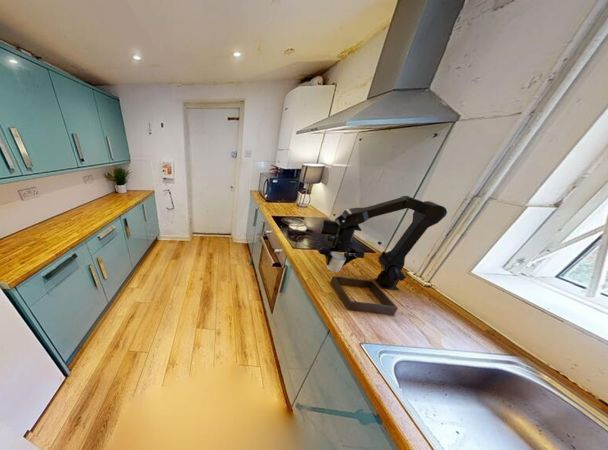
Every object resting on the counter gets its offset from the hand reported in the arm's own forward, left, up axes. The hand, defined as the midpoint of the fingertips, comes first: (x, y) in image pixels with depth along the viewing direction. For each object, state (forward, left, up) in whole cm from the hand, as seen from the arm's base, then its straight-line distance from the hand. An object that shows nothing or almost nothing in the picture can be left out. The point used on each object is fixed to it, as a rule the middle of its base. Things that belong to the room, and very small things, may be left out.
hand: (334, 265), depth 95 cm
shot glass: (0, 0, -2) cm, 2 cm away
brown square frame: (-5, +15, -5) cm, 17 cm away
